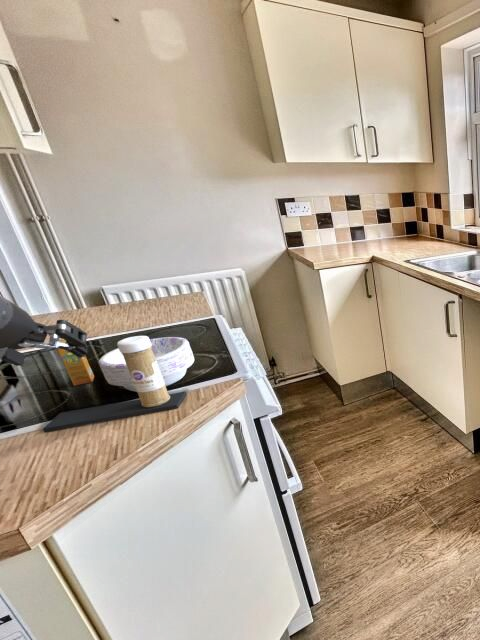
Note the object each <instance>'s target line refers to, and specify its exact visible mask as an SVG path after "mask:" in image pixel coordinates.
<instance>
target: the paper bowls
mask: <svg viewBox="0 0 480 640" xmlns="http://www.w3.org/2000/svg"><path fill="white" fill-rule="evenodd" d="M149 340H150V342H151V347H152V348H151V349H152V351H153V354H154V357H155V359H156V361H157V364H158V366H159V369H160V372H161V374H162V377H163V380H164V382H165V386H166V387H169V386H171V385H173V384H175V383H177V382H179V381H180V380H181V379H183V378H184V377H185V376H186V374H187V369H188V368H190V367H191V366H192V365H193V364H194V362H195V356H194V353H193V350H192V348H191V345H190V342H189V341H188V339H186V338H184V337H181V336H180V337H179V336H165V337H157V338H156V337H155V338H149ZM98 365H99V367H100V369H101V371H102V373H103V376H104V379H105V380H106V382H107V383H108V384H109V385H110V386H111V385H112V386H118V387H123V388H125V389H126V390H128V391H130V392H136V393H138V392H137V391H136V389H135V386H134V384H133V381H132V379H131V375H130V372H129V370H128V367H127V365H126V362H125V360H124V356H123V355H122V353H121V352H120V351H119V348H118V347H117V348H115V349H112V350H111V351H109V352H107V353H105V354H103V355H102V356H101V357H100V358H99V360H98Z"/></svg>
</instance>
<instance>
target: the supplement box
mask: <svg viewBox="0 0 480 640" xmlns="http://www.w3.org/2000/svg"><path fill="white" fill-rule="evenodd" d="M59 342H60V343H63V344H66V340H64V339H59ZM56 350H57V352H58V355H59V357H60V359H61V361H62V363H63V365H64V368H65V370H66V372H67V374H68V377H69V379H70V381H71V383H72V385H73V386H75V387H76V386H79V385H80V386H81V385H85V384H90V383H93V382H94V379H95V375H94V372H93V370H92V368H91V366H90V364H89V361H88V359H87V356H86V355H85V357H80V358H79V357H77V356H76V355H74V354H72V353H71V352H69V351H67V350H65V349H59V348H56Z"/></svg>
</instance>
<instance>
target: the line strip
mask: <svg viewBox="0 0 480 640" xmlns="http://www.w3.org/2000/svg"><path fill="white" fill-rule="evenodd" d="M168 394H169V395H170V399H169V400H168V401H167V402H166V403H164V404H162V405H159V406H155V407H143V406H142V405H141V400H140V398H139V399H132V400H125V401H120V402H115V403H108V404H103V405H97V406H91V407H86V408H80V409H74V410H68V411H62V412H59V413H58V414H57V415H56V416H55V417H54V418H53V419H51V421H49V422H48V423H47V424H46V425H45V426H44V427H43V428H42V431H43V432H44V433H49V432H55V431H59V430H66V429H72V428H75V427H76V428H77V427H81V426H88V425H92V424H99V423H104V422H110V421H114V420H120V419H126V418H131V417H137V416H143V415H148V414H153V413H154V414H155V413H159V412H164V411H170V410H175V409H179V407H180V406H181V404H182V402H183V401H184V399H185V398H186V396H187V392H186V391H180V392H179V391H177V392H173V393H168Z"/></svg>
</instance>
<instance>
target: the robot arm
mask: <svg viewBox="0 0 480 640" xmlns="http://www.w3.org/2000/svg"><path fill="white" fill-rule="evenodd" d="M55 323H56V324H51V325H46V324H43V323H40V322H37V321H35V320H34V319H33V318H32V316H31V315H30V314H29V313H28V312H27V311H26V310H24V309H23V308H21V307H20V306H18V305H17V304H15V303H14V302H12V301H11V300H9V299H7V298H6V297H4V296H2V295H1V294H0V361H3V362H4V363H7V364H10V365H13V366H15V367H21V366H23V365H25V354H24V353H22V352H20V351H18V350H22V349H27V348H36V349H44V350H50V351H53V350H56V349H57V348H59V349H65V350H67V351H69V352H71V353H72V354H74V355H76V356H77V357H79V358H80V357H85V356H86V355H87V354H88V345H87V337H88V336H87V335H88V334H87V332H86V331H84V330H83V329H81V328H80V327H77V326H76V325H74V324H72V323H71V322H69V321H67V320H65V319H57V320H56V322H55ZM48 336H49V338H48V339H49V340H48V342H45V341H46V340H47V337H48ZM59 340H66V344H63V343H60V342H59Z"/></svg>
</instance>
